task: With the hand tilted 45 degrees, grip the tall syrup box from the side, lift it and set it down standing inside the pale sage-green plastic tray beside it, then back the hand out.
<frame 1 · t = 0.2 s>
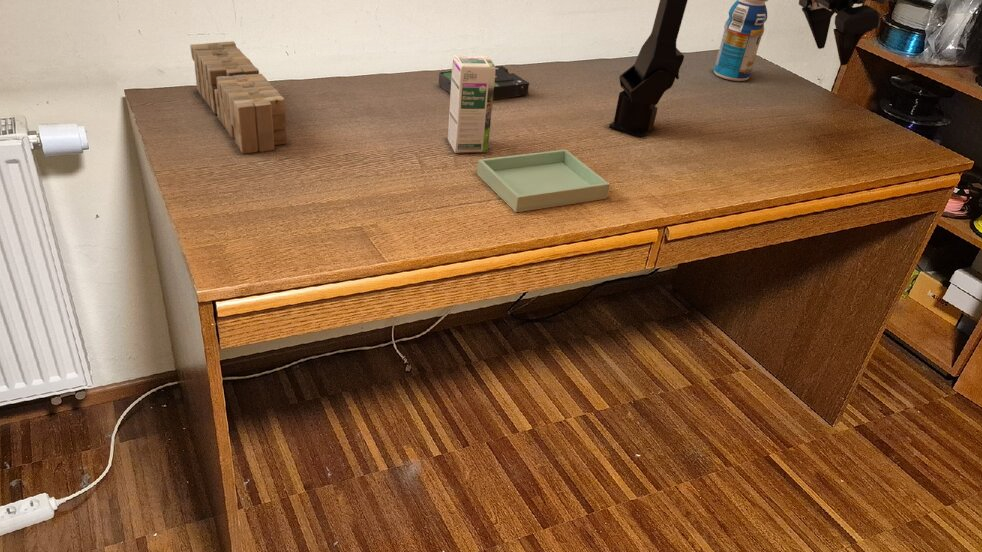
hand: (832, 56, 145), 15 cm above the table, tool pointing down, fingers open, 9 cm apart
disk drive: (482, 91, 157), on the table
syrup box: (466, 147, 135), on the table
tray: (541, 186, 125), on the table
block tower: (240, 118, 135), on the table
beverage bottle: (730, 76, 181), on the table
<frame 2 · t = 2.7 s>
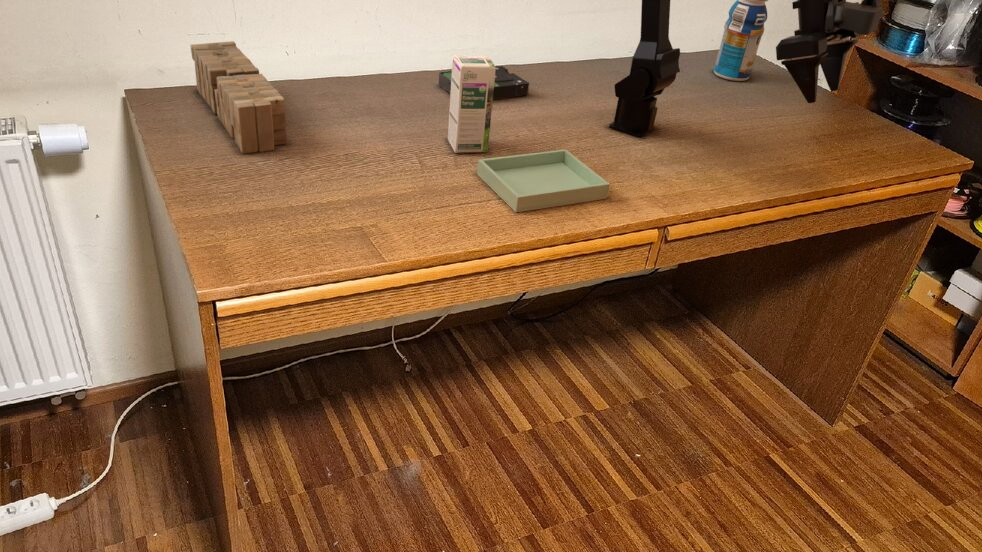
hand: (823, 96, 124), 16 cm above the table, tool tilted 25°, fingers open, 9 cm apart
nothing on the table moved.
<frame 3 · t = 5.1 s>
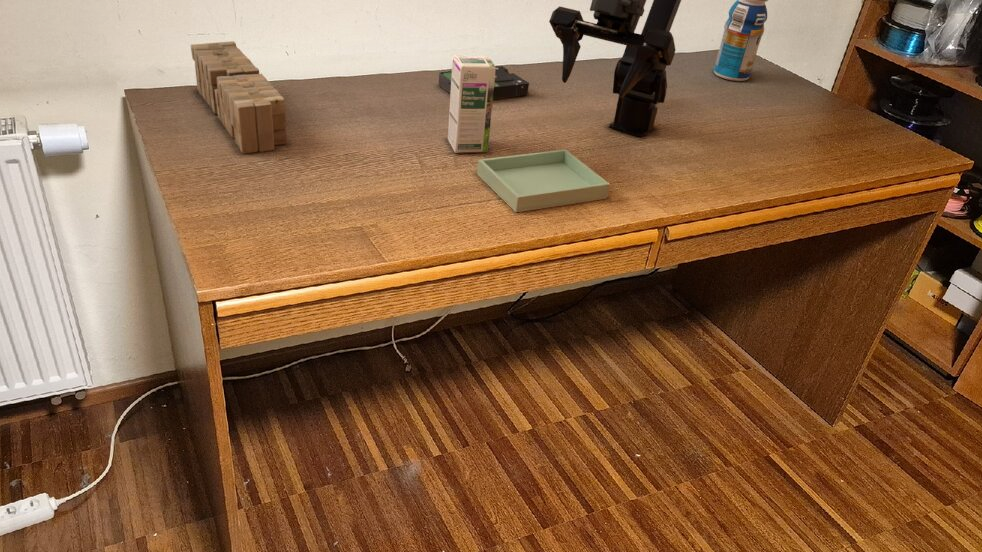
hand: (591, 89, 120), 15 cm above the table, tool tilted 40°, fingers open, 9 cm apart
nothing on the table moved.
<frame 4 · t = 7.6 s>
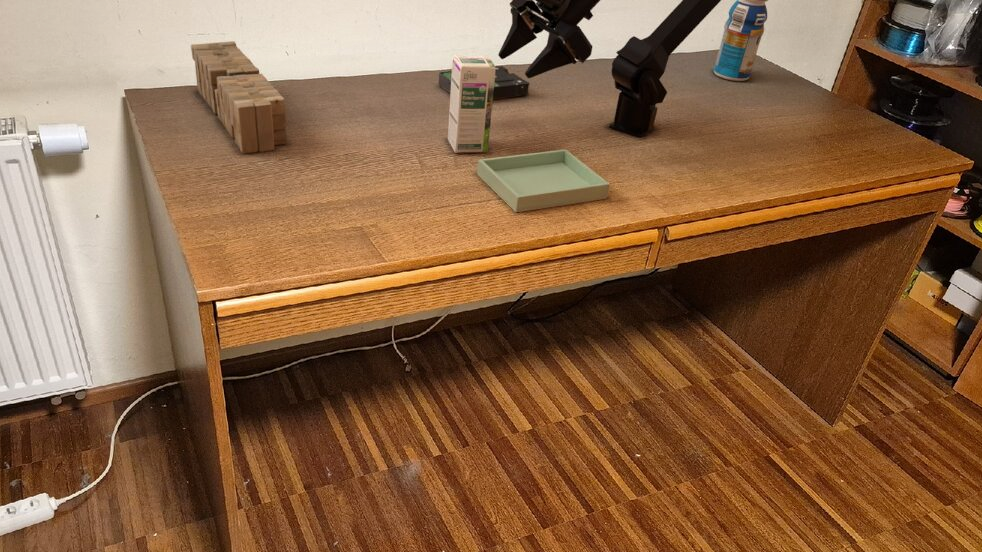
hand: (512, 66, 130), 13 cm above the table, tool tilted 45°, fingers open, 9 cm apart
nothing on the table moved.
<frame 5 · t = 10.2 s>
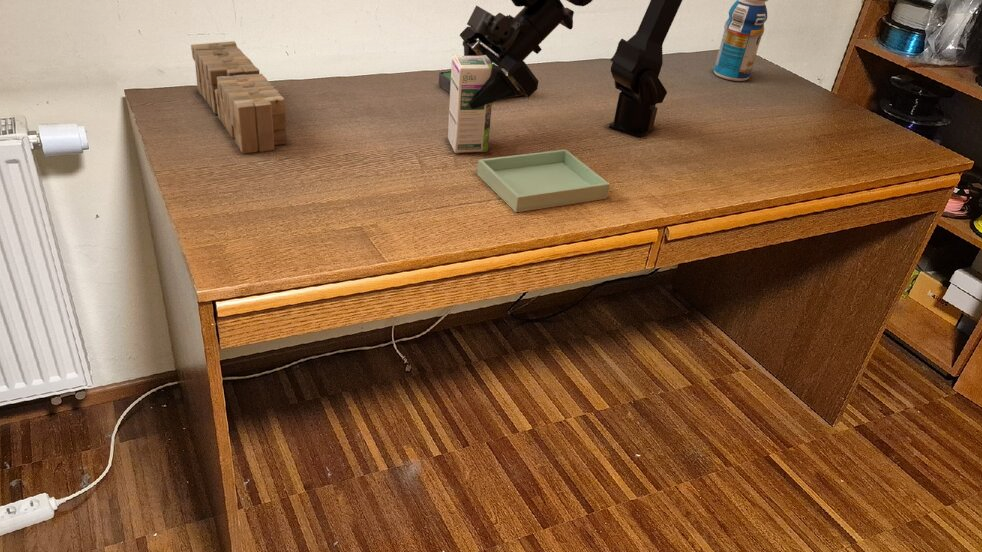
hand: (460, 98, 129), 8 cm above the table, tool tilted 45°, fingers closed on syrup box, 7 cm apart
syrup box: (467, 146, 135), on the table, touching gripper
everything else where it was.
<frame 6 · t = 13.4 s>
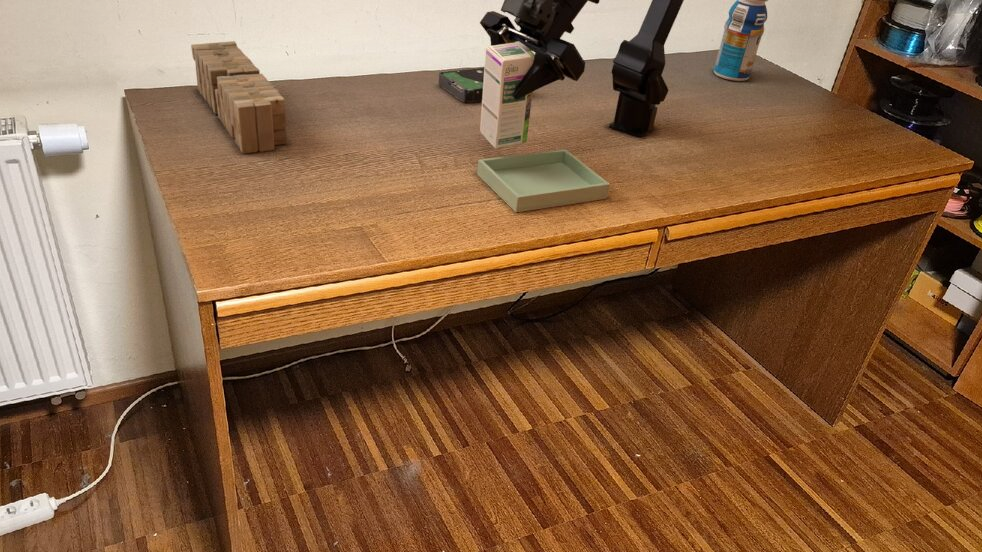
hand: (498, 90, 121), 13 cm above the table, tool tilted 45°, fingers closed on syrup box, 7 cm apart
syrup box: (502, 138, 128), point 4 cm above the table, touching gripper
everything else where it was.
when the fingers open (9 cm above the table, at t = 16.5 s): syrup box stays where it is, resting on tray.
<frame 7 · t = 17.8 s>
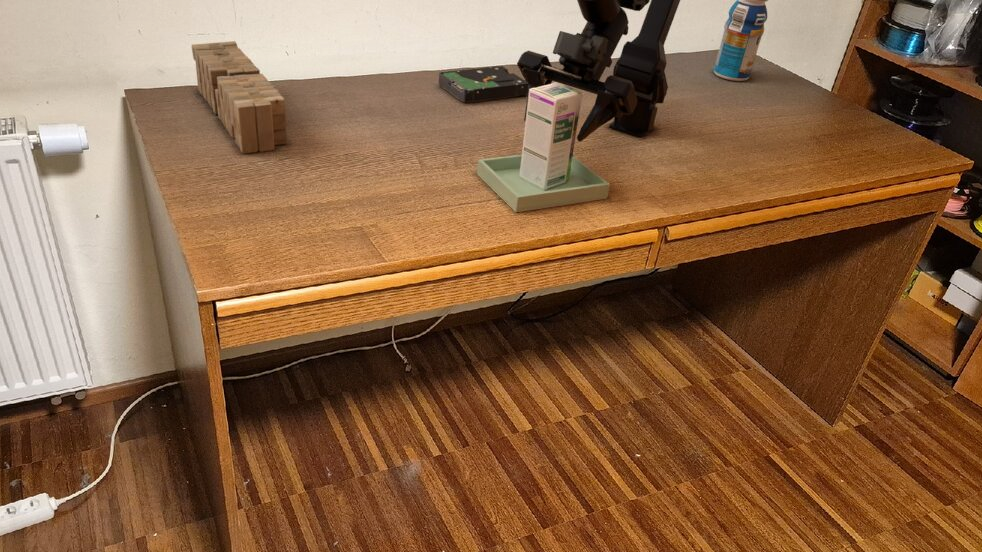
hand: (551, 131, 120), 9 cm above the table, tool tilted 45°, fingers open, 9 cm apart
syrup box: (543, 180, 126), resting on tray
everything else where it was.
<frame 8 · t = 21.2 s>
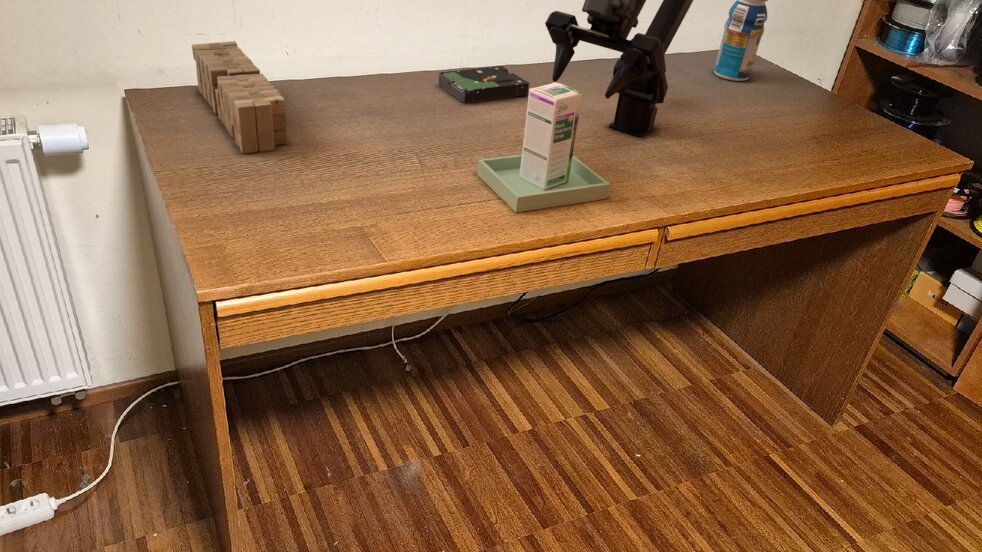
hand: (579, 88, 123), 14 cm above the table, tool tilted 45°, fingers open, 9 cm apart
nothing on the table moved.
at the end: syrup box inside the target area in the tray (1.4 cm from its centre), point 0.3 cm above the tray's base; syrup box tilted 0°; the gripper is holding nothing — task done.
